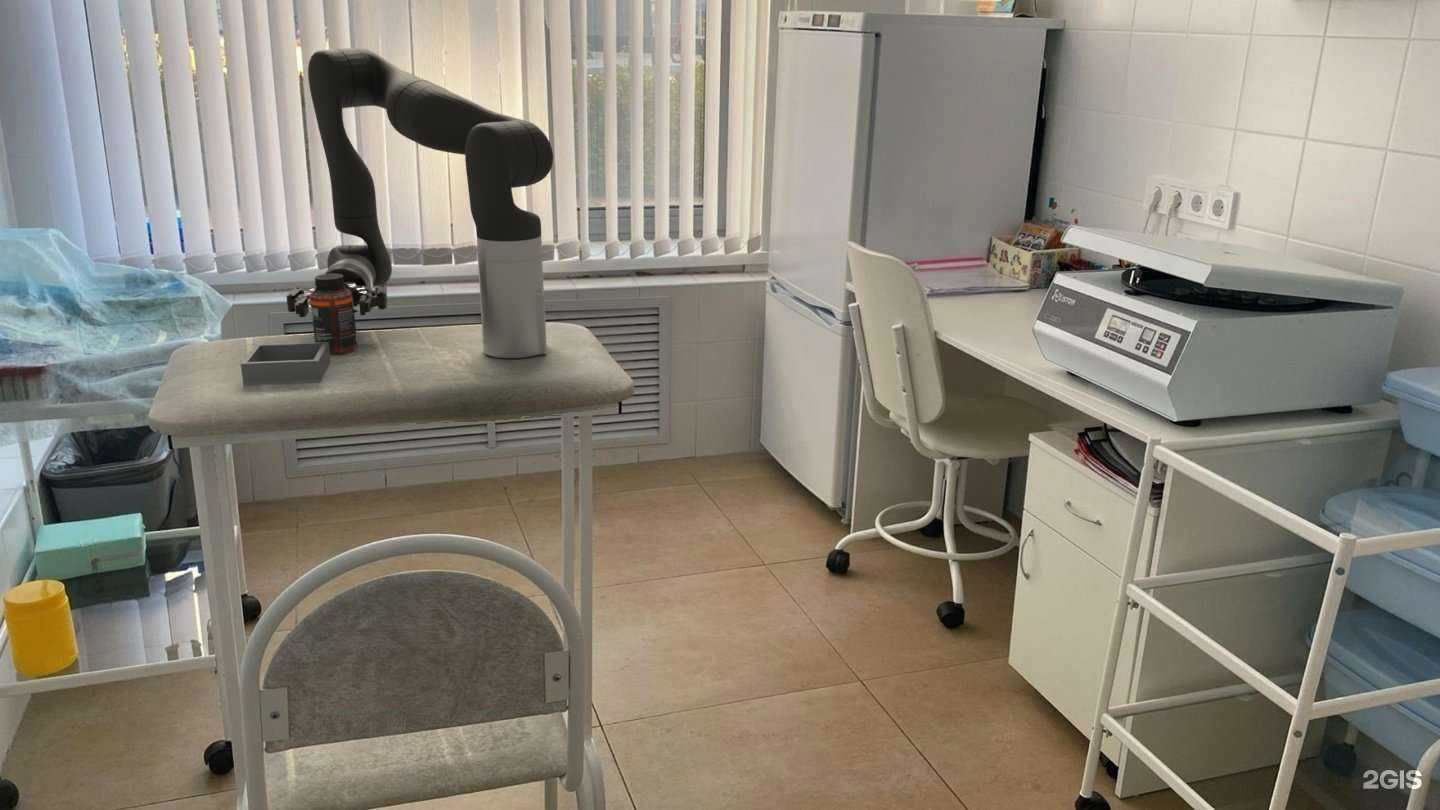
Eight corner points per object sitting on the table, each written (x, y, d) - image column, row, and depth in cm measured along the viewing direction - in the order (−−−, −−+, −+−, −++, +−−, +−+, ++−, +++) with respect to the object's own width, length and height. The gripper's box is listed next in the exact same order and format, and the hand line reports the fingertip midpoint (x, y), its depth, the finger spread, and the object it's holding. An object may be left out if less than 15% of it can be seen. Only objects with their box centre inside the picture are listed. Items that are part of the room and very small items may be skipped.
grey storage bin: (330, 361, 164) (328, 341, 163) (320, 382, 154) (318, 360, 153) (258, 364, 162) (255, 344, 161) (243, 385, 153) (240, 363, 152)
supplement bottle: (364, 346, 172) (357, 272, 168) (348, 357, 166) (340, 280, 163) (326, 345, 172) (318, 271, 169) (308, 355, 167) (300, 279, 163)
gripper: (297, 263, 179) (277, 285, 164) (391, 261, 181) (380, 282, 166) (302, 310, 181) (283, 336, 166) (394, 307, 184) (384, 332, 169)
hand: (332, 309), depth 166 cm, fingers open, 8 cm apart
